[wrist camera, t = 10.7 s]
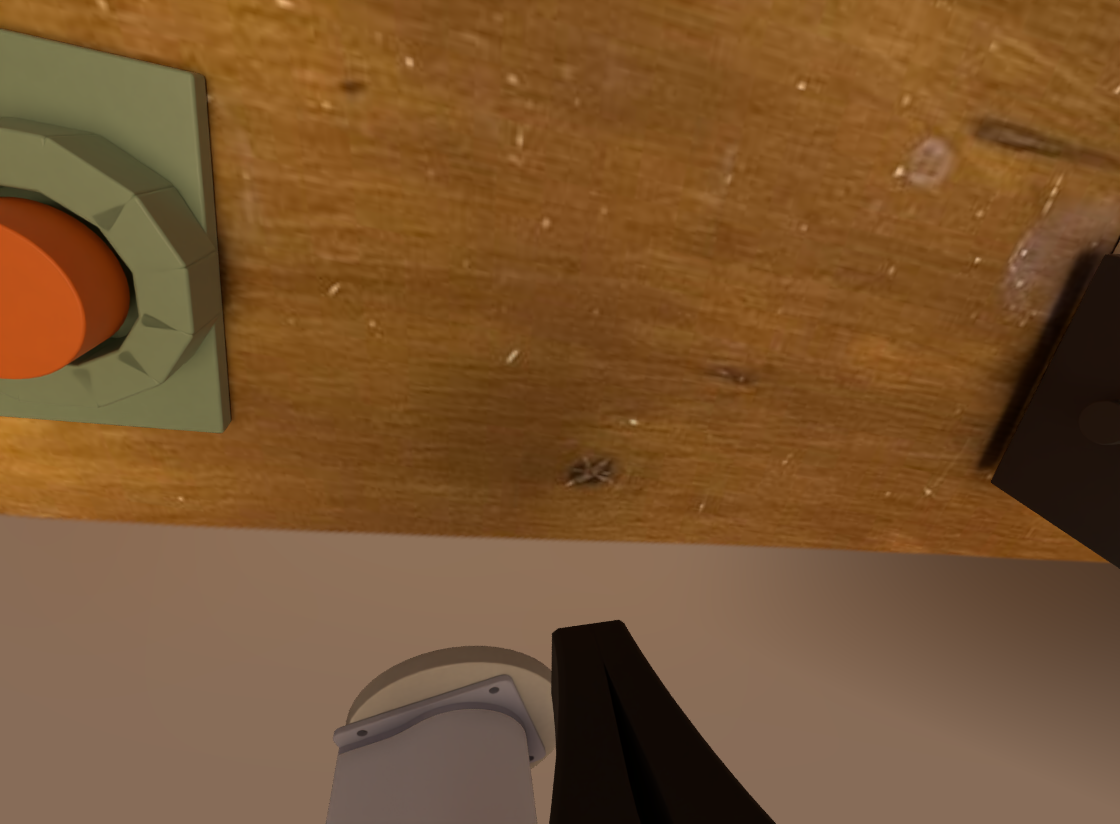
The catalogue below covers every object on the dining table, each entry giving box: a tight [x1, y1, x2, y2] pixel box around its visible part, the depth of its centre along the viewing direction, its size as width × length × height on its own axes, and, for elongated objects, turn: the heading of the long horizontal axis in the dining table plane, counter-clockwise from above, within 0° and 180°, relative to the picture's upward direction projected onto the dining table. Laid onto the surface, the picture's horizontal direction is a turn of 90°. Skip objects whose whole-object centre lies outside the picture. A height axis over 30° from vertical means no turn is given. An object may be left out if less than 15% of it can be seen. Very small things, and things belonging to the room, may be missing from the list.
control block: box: [0, 28, 231, 433], centre depth 14 cm, size 10×6×3 cm, turn 168°
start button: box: [0, 197, 130, 379], centre depth 12 cm, size 4×4×2 cm
